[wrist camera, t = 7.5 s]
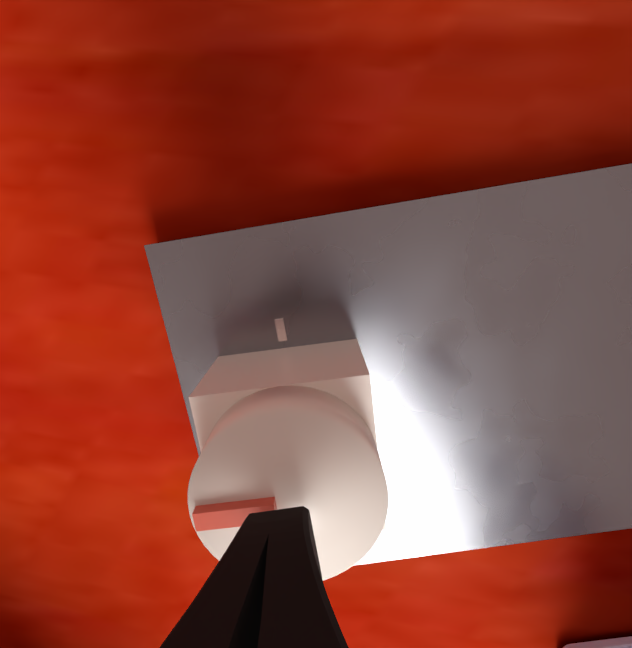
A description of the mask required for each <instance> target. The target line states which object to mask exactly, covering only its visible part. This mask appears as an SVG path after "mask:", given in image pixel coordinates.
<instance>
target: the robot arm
mask: <svg viewBox="0 0 632 648" xmlns="http://www.w3.org/2000/svg"><path fill="white" fill-rule="evenodd" d="M160 648H348V646H347V643H346V641H345V639H344V636H343V634H342V632H341V629H340V627H339V624H338V622H337V619H336V617H335V614H334V612H333V609H332V607H331V604H330V601H329V599H328V596H327V593H326V591H325V587H324V584H323V581H322V574H321V568H320V563H319V558H318V553H317V548H316V543H315V538H314V532H313V527H312V522H311V517H310V512H309V509H307V508H306V507H304V506H299V507H292V508H285V509H278V510H271V511H264V512H257V513H250V514H249V515H248V516H247V517H246V519H245V520H244V522H243V523H242V525H241V527H240V528H239V530H238V532H237V533H236V535H235V537H234V538H233V540H232V542H231V543H230V545H229V546H228V548H227V550H226V551H225V553H224V554H223V556H222V558H221V559H220V561H219V562H218V564H217V566H216V567H215V569H214V570H213V572H212V573H211V575H210V576H209V578H208V579H207V581H206V582H205V584H204V585H203V587H202V588H201V590H200V591H199V593H198V594H197V596H196V597H195V599H194V600H193V602H192V603H191V605H190V606H189V608H188V609H187V610H186V612H185V613H184V615H183V616H182V617H181V619H180V620H179V621H178V623H177V624H176V626H175V627H174V628H173V630H172V631H171V632H170V634H169V635H168V637H167V638H166V639H165V641H164V642H163V643H162V645H161V646H160ZM563 648H632V636H629V637H621V638H613V639H605V640H597V641H588V642H580V643H572V644H567V645H565V646H564V647H563Z"/></svg>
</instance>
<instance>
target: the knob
mask: <svg viewBox="0 0 632 648" xmlns="http://www.w3.org/2000/svg"><path fill="white" fill-rule="evenodd" d="M189 402H190V406H191V411H192V415H193V419H194V424H195V428H196V433H197V437H198V441H199V446H200V450H201V454H200V456H199V458H198V460H197V462H196V464H195V466H194V468H193V471H192V474H191V477H190V481H189V487H188V508H189V514H190V518H191V521H192V524H193V527H194V529H195V531H196V533H197V535H198V537H199V538H200V540H201V541H202V543H203V544H204V546H205V547H206V548H207V549H208V550H209V551H210V553H211V554H212V555H213V556H214V557H216V558H217V559H218V560H219V561H220V559H221V558H222V556H223V554H224V553H225V551H226V550H227V548H228V546H229V545H230V543H231V542H232V540H233V538H234V537H235V535H236V533H237V532H238V530H239V528H240V527H241V525H242V523H243V522H244V520H245V519H246V517H247V516H248V515H249V514H250V513H257V512H264V511H271V510H278V509H285V508H292V507H299V506H304V507H306V508H307V509H309V512H310V517H311V522H312V527H313V532H314V538H315V543H316V548H317V553H318V558H319V563H320V568H321V574H322V581H323V580H326V579H329V578H331V577H334V576H336V575H338V574H340V573H342V572H344V571H346V570H347V569H349V568H350V567H352V566H353V565H355V564H356V563H357V562H358V561H360V560H361V559H362V558H363V557H364V556H365V555H366V554H367V553H368V552H369V550H370V549H371V548H372V547H373V546H374V544H375V542H376V541H377V539H378V538H379V536H380V534H381V531H382V530H386V517H387V512H388V489H387V483H386V479H385V475H384V471H383V468H382V464H381V460H380V457H379V453H378V447H377V438H376V429H375V419H374V410H373V401H372V392H371V382H370V374H369V371H368V369H367V366H366V363H365V360H364V357H363V354H362V352H361V349H360V346H359V343H358V340H357V339H351V340H343V341H335V342H327V343H320V344H312V345H304V346H296V347H288V348H281V349H273V350H265V351H257V352H249V353H241V354H234V355H226V356H218V357H217V359H216V360H215V362H214V363H213V364H212V366H211V367H210V368H209V370H208V371H207V373H206V374H205V375H204V377H203V378H202V379H201V381H200V382H199V384H198V385H197V386H196V388H195V389H194V390H193V392H192V393H191V395H190V396H189Z"/></svg>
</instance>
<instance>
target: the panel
mask: <svg viewBox="0 0 632 648" xmlns="http://www.w3.org/2000/svg"><path fill="white" fill-rule="evenodd" d="M144 247H145V251H146V255H147V258H148V262H149V266H150V270H151V274H152V278H153V281H154V285H155V289H156V293H157V297H158V300H159V304H160V308H161V312H162V316H163V320H164V323H165V327H166V331H167V335H168V339H169V343H170V346H171V350H172V354H173V358H174V362H175V366H176V369H177V373H178V377H179V381H180V385H181V389H182V392H183V396H184V400H185V404H186V408H187V412H188V415H189V419H190V423H191V427H192V431H193V435H194V438H195V442H196V446H197V450H198V454H199V456H200V454H201V450H200V446H199V441H198V437H197V433H196V428H195V424H194V419H193V415H192V411H191V406H190V402H189V396H190V395H191V393H192V392H193V390H194V389H195V388H196V386H197V385H198V384H199V382H200V381H201V379H202V378H203V377H204V375H205V374H206V373H207V371H208V370H209V368H210V367H211V366H212V364H213V363H214V362H215V360H216V359H217V357H218V356H226V355H234V354H241V353H249V352H257V351H265V350H273V349H281V348H288V347H296V346H304V345H312V344H320V343H327V342H335V341H343V340H351V339H357V340H358V343H359V346H360V349H361V352H362V354H363V357H364V360H365V363H366V366H367V369H368V371H369V374H370V382H371V392H372V401H373V410H374V419H375V429H376V438H377V447H378V453H379V457H380V460H381V464H382V468H383V471H384V475H385V479H386V483H387V489H388V512H387V517H386V530H382V531H381V534H380V536H379V538H378V539H377V541H376V542H375V544H374V546H373V547H372V548H371V549H370V550H369V552H368V553H367V554H366V555H365V556H364V557H363V558H362V559H361V560H360V561H358V562H357V563H356V564H355V565H361V564H369V563H376V562H384V561H391V560H399V559H406V558H413V557H421V556H428V555H436V554H443V553H451V552H458V551H466V550H473V549H480V548H488V547H495V546H503V545H510V544H518V543H525V542H533V541H540V540H547V539H555V538H562V537H570V536H577V535H585V534H592V533H600V532H607V531H614V530H622V529H629V528H632V163H631V164H626V165H620V166H614V167H608V168H602V169H596V170H590V171H584V172H578V173H572V174H566V175H560V176H554V177H548V178H542V179H536V180H530V181H524V182H519V183H513V184H507V185H501V186H495V187H489V188H483V189H477V190H471V191H465V192H459V193H453V194H447V195H441V196H435V197H429V198H423V199H417V200H412V201H406V202H400V203H394V204H388V205H382V206H376V207H370V208H364V209H358V210H352V211H346V212H340V213H334V214H328V215H322V216H316V217H310V218H305V219H299V220H293V221H287V222H281V223H275V224H269V225H263V226H257V227H251V228H245V229H239V230H233V231H227V232H221V233H215V234H209V235H203V236H198V237H192V238H186V239H180V240H174V241H168V242H162V243H156V244H150V245H144ZM353 566H354V565H353Z"/></svg>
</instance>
